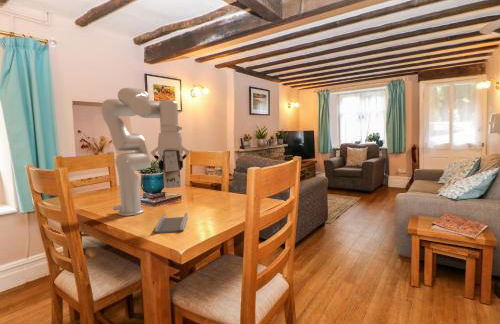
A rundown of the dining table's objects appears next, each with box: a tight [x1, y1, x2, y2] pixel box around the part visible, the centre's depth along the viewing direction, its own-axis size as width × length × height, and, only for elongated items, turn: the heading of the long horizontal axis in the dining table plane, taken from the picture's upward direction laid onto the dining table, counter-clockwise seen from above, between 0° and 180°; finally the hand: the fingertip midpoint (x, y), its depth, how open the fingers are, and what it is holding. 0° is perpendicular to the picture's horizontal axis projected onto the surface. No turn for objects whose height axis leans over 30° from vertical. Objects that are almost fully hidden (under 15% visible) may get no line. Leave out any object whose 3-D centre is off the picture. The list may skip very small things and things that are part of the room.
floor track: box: [154, 212, 189, 234], centre depth 124 cm, size 11×18×3 cm, turn 7°
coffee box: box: [162, 150, 182, 189], centre depth 122 cm, size 9×6×16 cm
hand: (171, 169), depth 122 cm, fingers closed on coffee box, 7 cm apart
